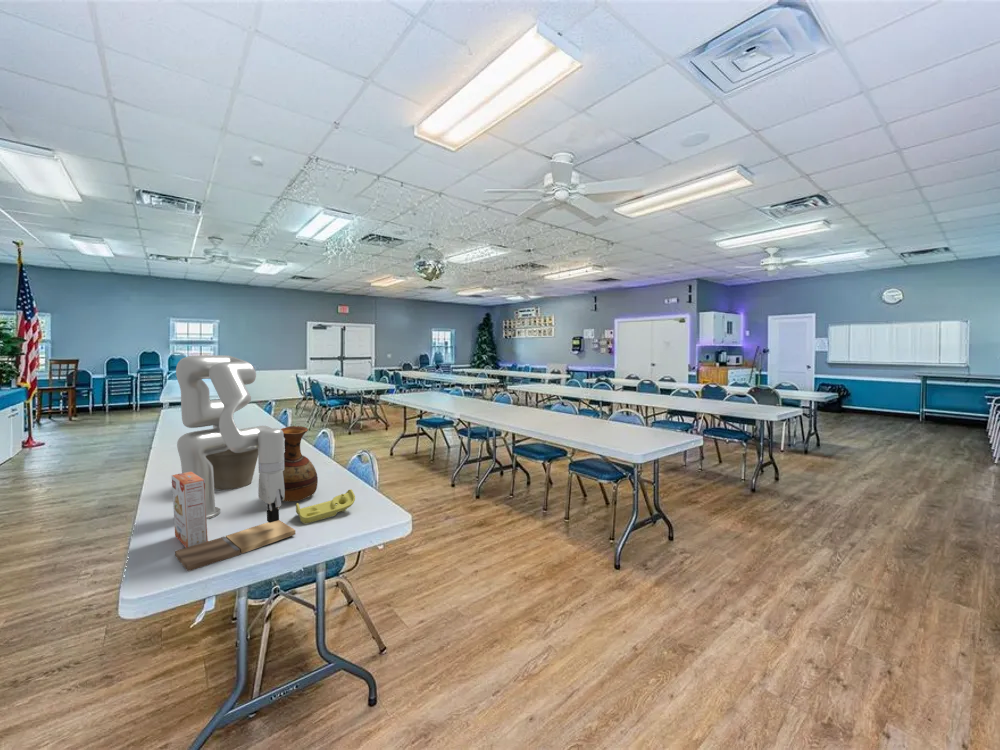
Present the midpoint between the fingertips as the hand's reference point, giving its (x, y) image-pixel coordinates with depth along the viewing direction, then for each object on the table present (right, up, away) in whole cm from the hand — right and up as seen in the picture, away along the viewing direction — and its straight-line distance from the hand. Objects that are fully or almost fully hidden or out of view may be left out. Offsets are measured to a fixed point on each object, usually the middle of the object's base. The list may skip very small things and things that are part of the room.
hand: (273, 520), depth 141 cm
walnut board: (-12, -6, -14) cm, 19 cm away
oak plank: (-2, -4, -3) cm, 6 cm away
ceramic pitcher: (-11, -3, +36) cm, 38 cm away
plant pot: (-47, -2, +53) cm, 71 cm away
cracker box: (-24, -5, -4) cm, 25 cm away
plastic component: (+11, -4, +17) cm, 21 cm away
